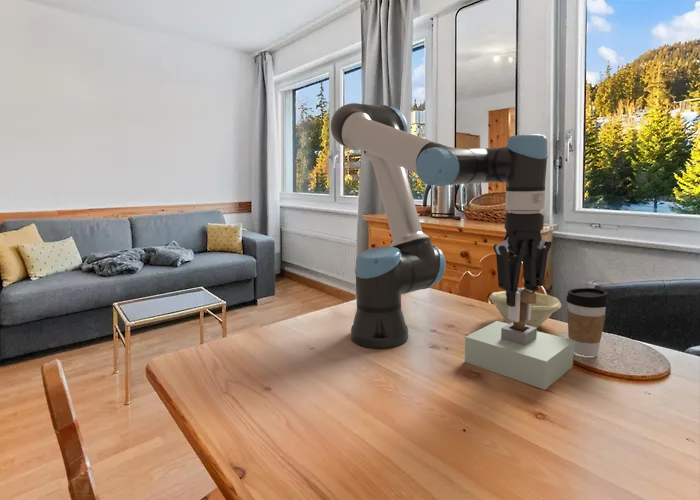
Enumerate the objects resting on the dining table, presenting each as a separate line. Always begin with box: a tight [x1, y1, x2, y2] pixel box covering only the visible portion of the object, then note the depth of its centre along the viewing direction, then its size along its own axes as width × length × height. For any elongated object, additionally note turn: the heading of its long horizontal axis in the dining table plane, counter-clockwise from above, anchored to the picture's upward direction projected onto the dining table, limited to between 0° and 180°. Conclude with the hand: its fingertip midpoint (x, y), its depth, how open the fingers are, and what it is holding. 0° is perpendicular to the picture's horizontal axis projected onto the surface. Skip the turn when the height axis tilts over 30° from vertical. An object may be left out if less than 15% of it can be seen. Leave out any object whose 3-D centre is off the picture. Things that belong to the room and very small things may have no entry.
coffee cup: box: [565, 287, 610, 356], centre depth 96 cm, size 8×8×15 cm
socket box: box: [464, 320, 575, 391], centre depth 92 cm, size 18×14×8 cm
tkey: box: [505, 287, 536, 332], centre depth 91 cm, size 7×2×11 cm, turn 19°
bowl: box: [489, 290, 562, 329], centre depth 115 cm, size 14×18×15 cm
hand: (519, 318), depth 91 cm, fingers closed on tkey, 2 cm apart
